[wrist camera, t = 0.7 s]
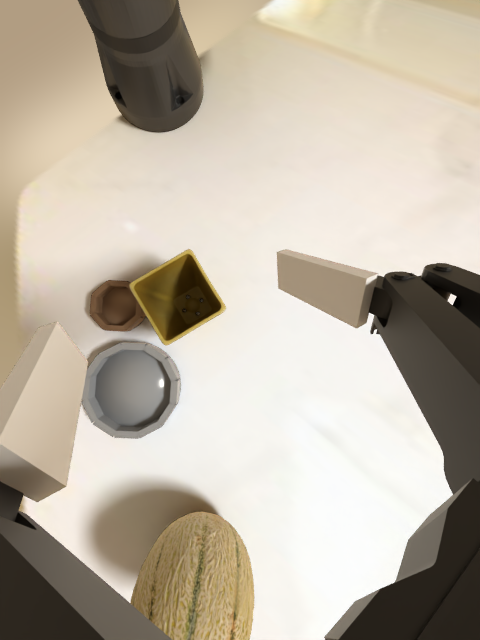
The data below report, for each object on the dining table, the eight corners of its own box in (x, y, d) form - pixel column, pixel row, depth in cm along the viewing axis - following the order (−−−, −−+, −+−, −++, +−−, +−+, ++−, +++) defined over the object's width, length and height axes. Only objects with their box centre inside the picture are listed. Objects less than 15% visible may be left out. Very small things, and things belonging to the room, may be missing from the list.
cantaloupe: (221, 469, 33) (211, 587, 18) (267, 551, 33) (294, 743, 18) (138, 517, 32) (55, 683, 17) (183, 602, 32) (139, 846, 17)
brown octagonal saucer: (101, 282, 33) (92, 279, 31) (149, 285, 34) (143, 282, 31) (97, 329, 33) (88, 329, 31) (145, 331, 33) (139, 332, 31)
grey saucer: (95, 339, 33) (86, 340, 31) (183, 344, 33) (180, 345, 31) (88, 429, 32) (77, 436, 30) (177, 432, 33) (173, 440, 31)
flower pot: (155, 295, 34) (126, 283, 25) (201, 268, 34) (190, 247, 25) (183, 342, 33) (164, 347, 24) (229, 314, 34) (227, 309, 25)
